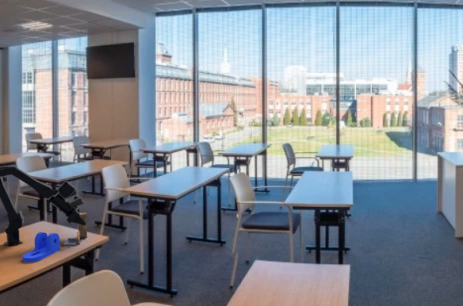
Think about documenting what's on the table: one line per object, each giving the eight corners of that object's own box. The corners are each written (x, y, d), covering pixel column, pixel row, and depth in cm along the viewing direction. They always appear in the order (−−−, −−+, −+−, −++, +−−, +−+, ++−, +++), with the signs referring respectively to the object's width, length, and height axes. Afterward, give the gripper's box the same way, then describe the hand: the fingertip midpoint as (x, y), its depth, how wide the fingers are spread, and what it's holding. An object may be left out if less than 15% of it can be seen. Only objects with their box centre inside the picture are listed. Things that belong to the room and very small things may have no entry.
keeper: (62, 245, 218) (62, 233, 218) (67, 241, 224) (66, 230, 224) (78, 245, 218) (77, 233, 218) (82, 241, 224) (81, 230, 224)
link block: (78, 237, 230) (78, 214, 228) (78, 235, 234) (78, 212, 232) (87, 237, 231) (86, 214, 230) (86, 234, 235) (86, 212, 233)
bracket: (44, 248, 215) (43, 230, 214) (60, 250, 213) (59, 231, 212) (18, 261, 197) (17, 241, 196) (35, 263, 195) (34, 243, 194)
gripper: (73, 195, 220) (97, 216, 225) (73, 188, 237) (95, 207, 242) (56, 212, 218) (81, 233, 223) (57, 204, 235) (80, 223, 240)
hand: (85, 223), depth 232 cm, fingers closed on link block, 4 cm apart
